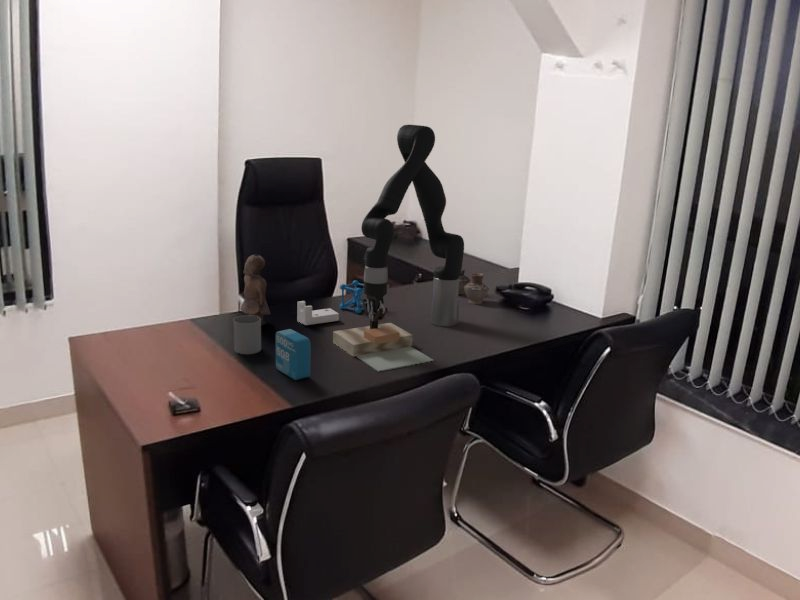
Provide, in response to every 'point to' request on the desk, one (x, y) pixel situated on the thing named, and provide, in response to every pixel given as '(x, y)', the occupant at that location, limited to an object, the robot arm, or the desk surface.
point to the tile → (381, 335)
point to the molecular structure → (356, 296)
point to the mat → (394, 358)
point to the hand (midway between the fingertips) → (373, 330)
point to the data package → (293, 354)
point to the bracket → (314, 314)
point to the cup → (247, 334)
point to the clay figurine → (254, 289)
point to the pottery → (472, 287)
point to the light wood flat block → (359, 345)
